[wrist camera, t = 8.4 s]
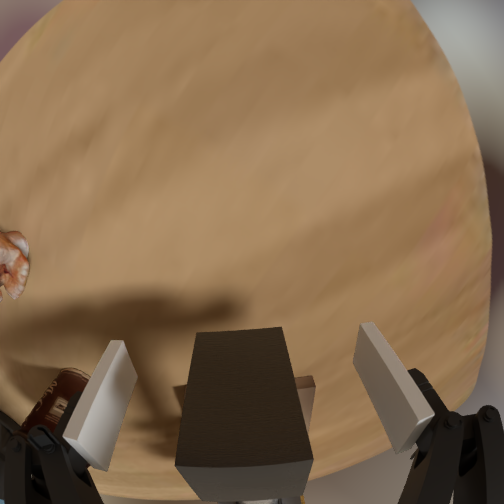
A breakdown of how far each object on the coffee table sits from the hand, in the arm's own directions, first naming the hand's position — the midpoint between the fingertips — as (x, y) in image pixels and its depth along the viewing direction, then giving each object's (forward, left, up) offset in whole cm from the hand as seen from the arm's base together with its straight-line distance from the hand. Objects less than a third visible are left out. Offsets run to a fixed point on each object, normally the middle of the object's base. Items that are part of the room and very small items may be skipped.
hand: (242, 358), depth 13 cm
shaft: (0, -9, 0) cm, 9 cm away
